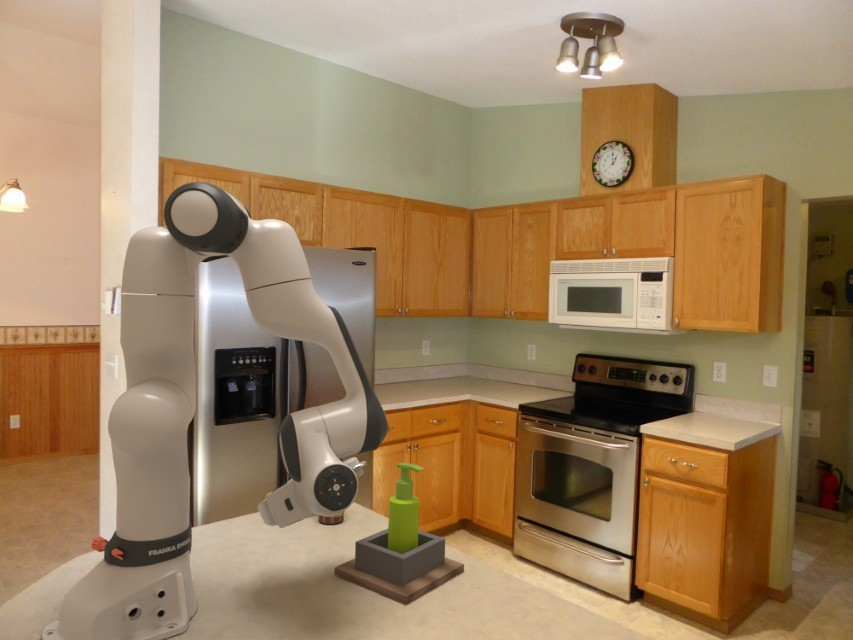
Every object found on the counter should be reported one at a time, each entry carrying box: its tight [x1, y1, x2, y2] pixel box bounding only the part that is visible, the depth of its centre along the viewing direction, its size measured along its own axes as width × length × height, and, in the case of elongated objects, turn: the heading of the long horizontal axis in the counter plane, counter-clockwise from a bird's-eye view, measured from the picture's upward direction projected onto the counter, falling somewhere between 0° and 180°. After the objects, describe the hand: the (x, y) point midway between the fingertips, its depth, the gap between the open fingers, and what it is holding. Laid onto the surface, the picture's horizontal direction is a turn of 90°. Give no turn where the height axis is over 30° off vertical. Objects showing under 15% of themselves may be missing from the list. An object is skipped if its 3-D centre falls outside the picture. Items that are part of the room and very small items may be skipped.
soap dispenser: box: [387, 462, 425, 554], centre depth 118 cm, size 6×7×20 cm
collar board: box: [333, 528, 465, 606], centre depth 118 cm, size 18×18×6 cm
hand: (306, 489), depth 120 cm, fingers open, 8 cm apart
